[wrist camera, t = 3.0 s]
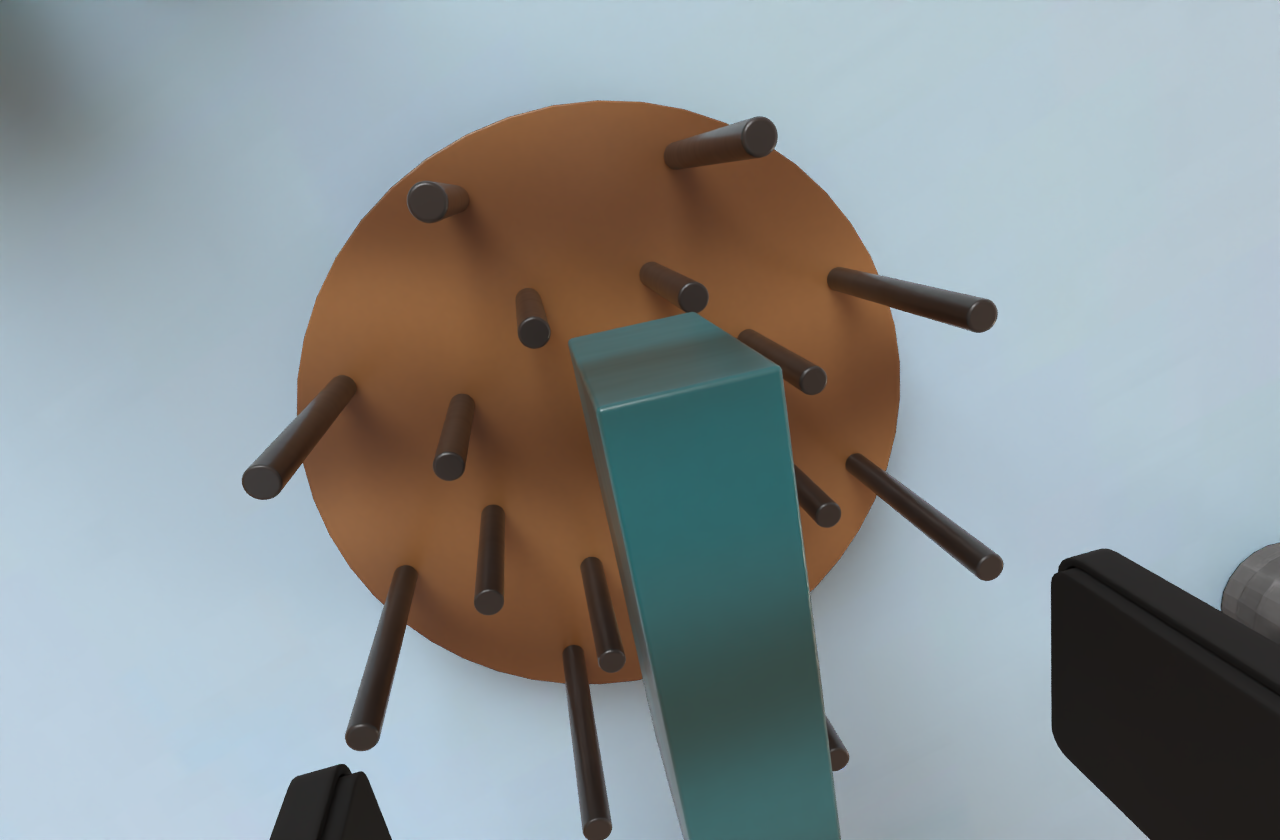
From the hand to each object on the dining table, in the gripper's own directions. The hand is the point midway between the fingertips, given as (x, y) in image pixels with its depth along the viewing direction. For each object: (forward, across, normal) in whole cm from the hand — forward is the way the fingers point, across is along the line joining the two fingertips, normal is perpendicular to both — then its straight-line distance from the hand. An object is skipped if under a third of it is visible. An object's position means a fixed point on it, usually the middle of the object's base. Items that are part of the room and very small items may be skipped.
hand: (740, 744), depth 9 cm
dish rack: (+14, 0, 0) cm, 14 cm away
